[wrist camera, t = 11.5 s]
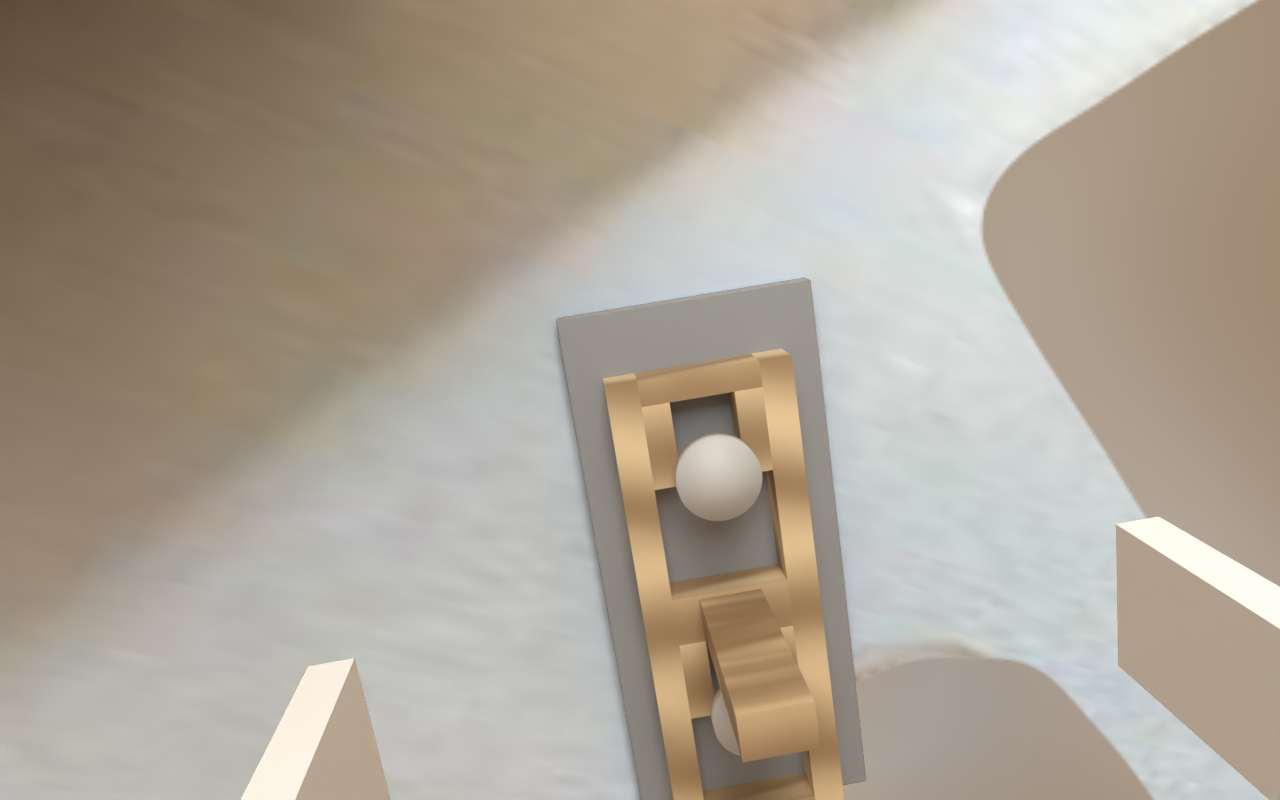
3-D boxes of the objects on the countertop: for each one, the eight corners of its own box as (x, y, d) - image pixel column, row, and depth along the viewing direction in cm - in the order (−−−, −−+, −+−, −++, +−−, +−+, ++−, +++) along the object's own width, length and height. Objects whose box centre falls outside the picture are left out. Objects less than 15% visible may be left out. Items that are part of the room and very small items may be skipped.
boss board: (556, 318, 43) (554, 335, 38) (803, 277, 44) (835, 289, 39) (643, 806, 50) (651, 879, 44) (859, 767, 50) (893, 834, 45)
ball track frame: (603, 378, 43) (614, 446, 31) (781, 348, 43) (859, 405, 32) (676, 815, 48) (709, 1013, 37) (834, 786, 49) (917, 973, 37)
